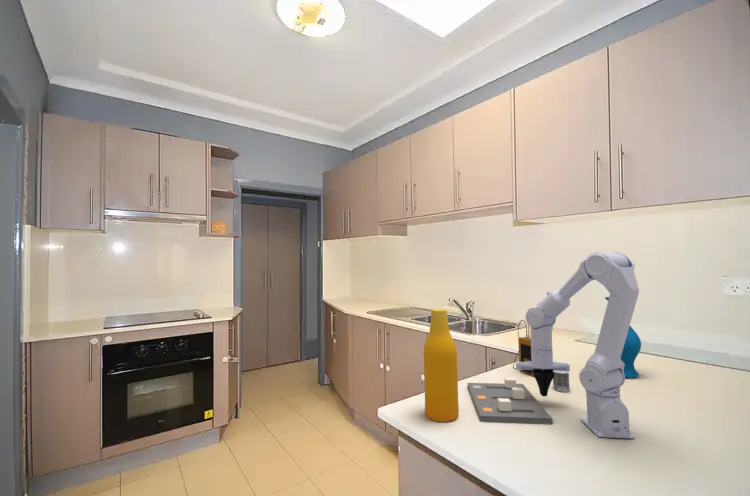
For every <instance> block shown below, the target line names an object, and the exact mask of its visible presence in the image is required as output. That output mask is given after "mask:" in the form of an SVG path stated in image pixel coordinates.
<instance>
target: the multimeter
mask: <svg viewBox="0 0 750 496" xmlns="http://www.w3.org/2000/svg"><path fill="white" fill-rule="evenodd" d="M521 322H524V324H525V330H526V331H525V333H526V334H525V336H522V337H521V336H520V333H519V332H517V336H518V339H517V341H518V342H517V343H518V351H517V353H516V356H515V358H514V361H513V364H512V368H513V369H514V370H517V369H516V367H515V364H516V360H517V358H518V362H527V361H532V356H531V334H530V326H529V325H528V324H527V322H526V320H524V319H521V320H520V321H519V323H518V326H517V329H519V327H520V325H521ZM527 325H528V326H527ZM519 372H520V373H524V374H527V375H529V376H532V377H534V375H533V373H532V371H531V370H519ZM534 378H535V377H534Z"/></svg>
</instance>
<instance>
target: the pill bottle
mask: <svg viewBox="0 0 750 496" xmlns="http://www.w3.org/2000/svg"><path fill="white" fill-rule="evenodd" d="M559 363H562V362H559ZM553 372H554V373H555V376H554V378H553V379H552V388H553V390H555V391H556V392H560V393H567V392H569V391H570V371H558V370H553Z"/></svg>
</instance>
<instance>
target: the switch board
mask: <svg viewBox="0 0 750 496" xmlns="http://www.w3.org/2000/svg"><path fill="white" fill-rule="evenodd" d="M516 388H523V390H524V396H525V399H514V398H513V397H512V388H506V387H505V383H499V382H498V383H497V382H496V383H491V382H488V383H487V382H467V390H468V392H469V395H470V397H471V400H472V403H473V405H474V407H475V410H476V413H477V414H478V415H477V416H478V418H479V420H480V422H483V423H484V422H485V423H486V422H487V423H488V422H489V423H507V424H508V423H510V424H511V423H514V424H534V425H535V424H537V425H539V424H540V425H543V424H544V425H553V422H554V421H553V417H552V415H550V414H549V413H548V412H547V410H546V409H545V408H544V406H543V405H542V404H541V403H540V402H539V401H538V400H537V398H536V397H535V396H534V395H533V394H532V393H531V391H530V390H529V389H528V388H527V387H526V386H525V384H524V383H516ZM497 398H509V400H510V401H511V411H500V410H499V409H498V399H497Z"/></svg>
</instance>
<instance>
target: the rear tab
mask: <svg viewBox="0 0 750 496" xmlns="http://www.w3.org/2000/svg"><path fill="white" fill-rule="evenodd" d="M503 382H504V384H505V387H506V388H512V387H515V388H516V384H517V380H516V378H514V377H504V381H503Z"/></svg>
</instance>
